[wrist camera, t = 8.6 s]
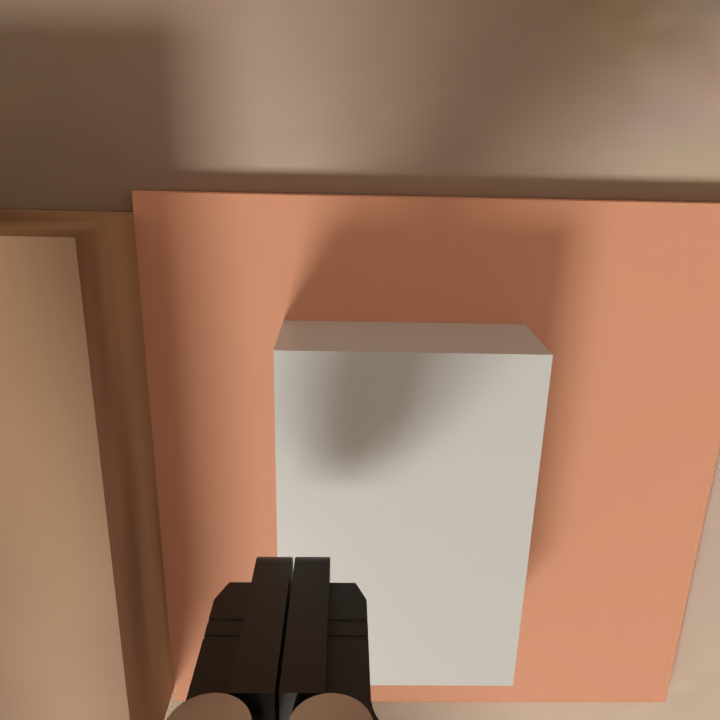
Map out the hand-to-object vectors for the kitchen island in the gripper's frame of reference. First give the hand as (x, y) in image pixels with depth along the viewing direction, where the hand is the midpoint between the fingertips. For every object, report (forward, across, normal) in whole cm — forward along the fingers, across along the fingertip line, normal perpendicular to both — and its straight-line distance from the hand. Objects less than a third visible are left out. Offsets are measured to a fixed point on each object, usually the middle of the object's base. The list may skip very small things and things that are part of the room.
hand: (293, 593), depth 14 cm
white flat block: (+3, -2, 0) cm, 4 cm away
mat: (+5, -4, 0) cm, 6 cm away
